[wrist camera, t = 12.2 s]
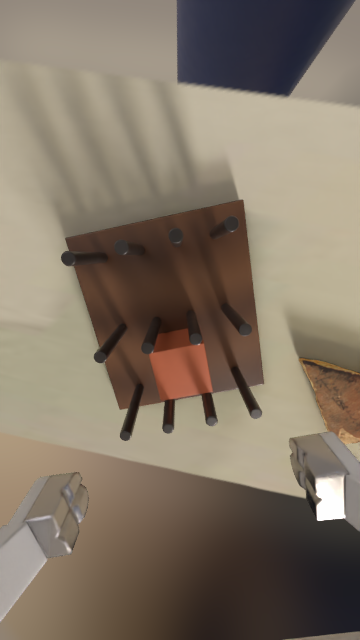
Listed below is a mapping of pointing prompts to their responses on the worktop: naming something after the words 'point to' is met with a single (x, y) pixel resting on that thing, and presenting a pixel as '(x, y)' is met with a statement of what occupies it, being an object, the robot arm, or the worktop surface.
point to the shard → (336, 397)
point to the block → (180, 366)
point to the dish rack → (172, 302)
